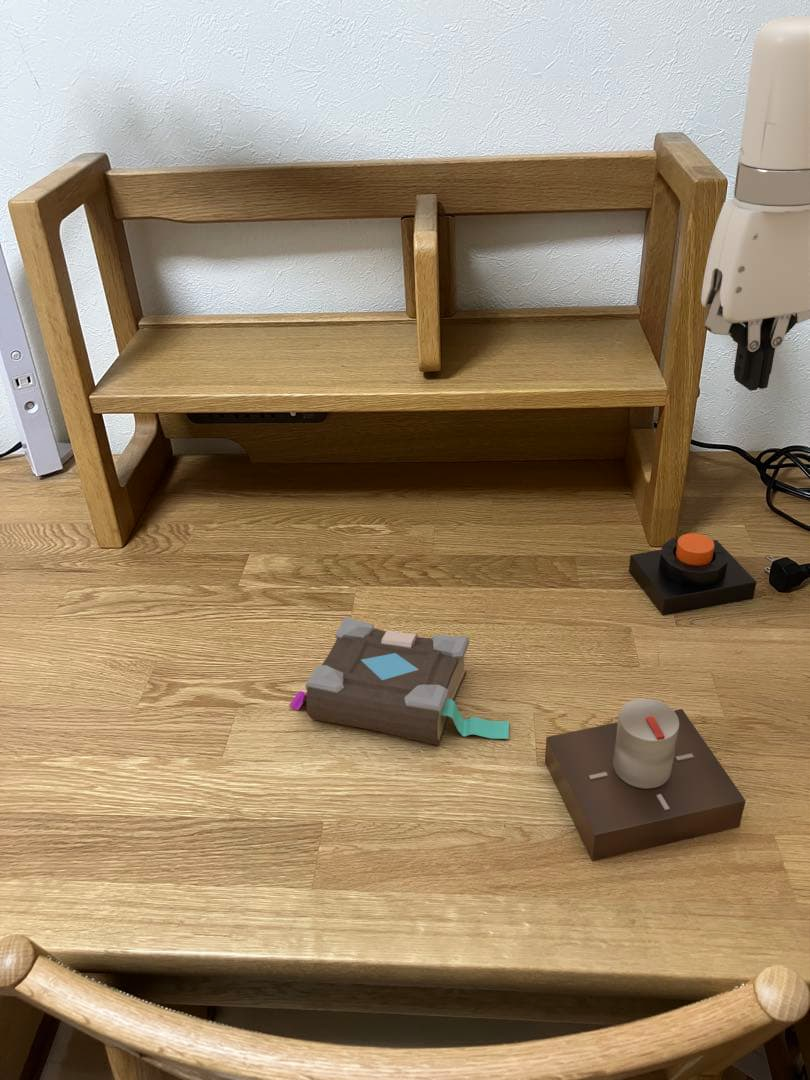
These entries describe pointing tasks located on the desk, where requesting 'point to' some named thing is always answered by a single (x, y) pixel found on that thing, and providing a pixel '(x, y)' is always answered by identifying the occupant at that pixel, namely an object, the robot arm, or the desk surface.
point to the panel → (640, 792)
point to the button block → (690, 579)
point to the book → (393, 684)
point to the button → (695, 549)
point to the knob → (645, 743)
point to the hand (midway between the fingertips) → (750, 383)
